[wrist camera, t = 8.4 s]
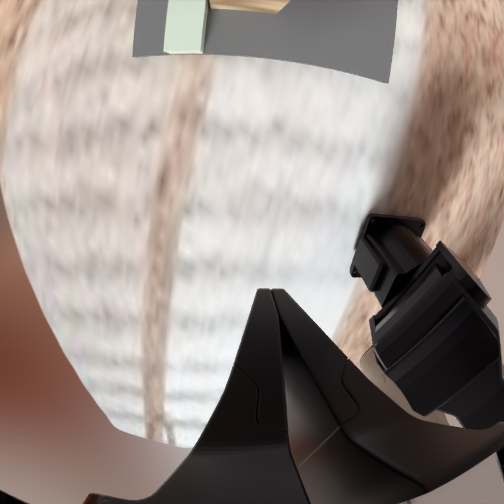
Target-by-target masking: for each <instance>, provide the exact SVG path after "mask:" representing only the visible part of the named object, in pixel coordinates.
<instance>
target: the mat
mask: <svg viewBox="0 0 504 504" xmlns="http://www.w3.org/2000/svg"><path fill="white" fill-rule="evenodd" d="M168 1H169V0H138V4H137V12H136V21H135V31H134V43H133V57H145V56H160V55H189V54H169V53H166V52H164V51H163V50H164V37H165V27H166V17H167V9H168ZM397 5H398V0H291V1H289V2H288V3H287V4H286V5H285V6H284V7H283V8H282V9H281V10H280V11H279V12H278V13H277V14H271V13H263V12H255V11H244V10H230V9H211V7H210V1H209V5H208V13H207V22H206V32H205V42H204V53H203V54H202V55H232V56H246V57H257V58H267V59H275V60H283V61H290V62H296V63H302V64H308V65H314V66H319V67H324V68H329V69H333V70H338V71H342V72H346V73H350V74H354V75H358V76H362V77H366V78H369V79H373V80H376V81H379V82H383V83H388V82H389V76H390V69H391V62H392V55H393V47H394V38H395V29H396V18H397Z"/></svg>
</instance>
